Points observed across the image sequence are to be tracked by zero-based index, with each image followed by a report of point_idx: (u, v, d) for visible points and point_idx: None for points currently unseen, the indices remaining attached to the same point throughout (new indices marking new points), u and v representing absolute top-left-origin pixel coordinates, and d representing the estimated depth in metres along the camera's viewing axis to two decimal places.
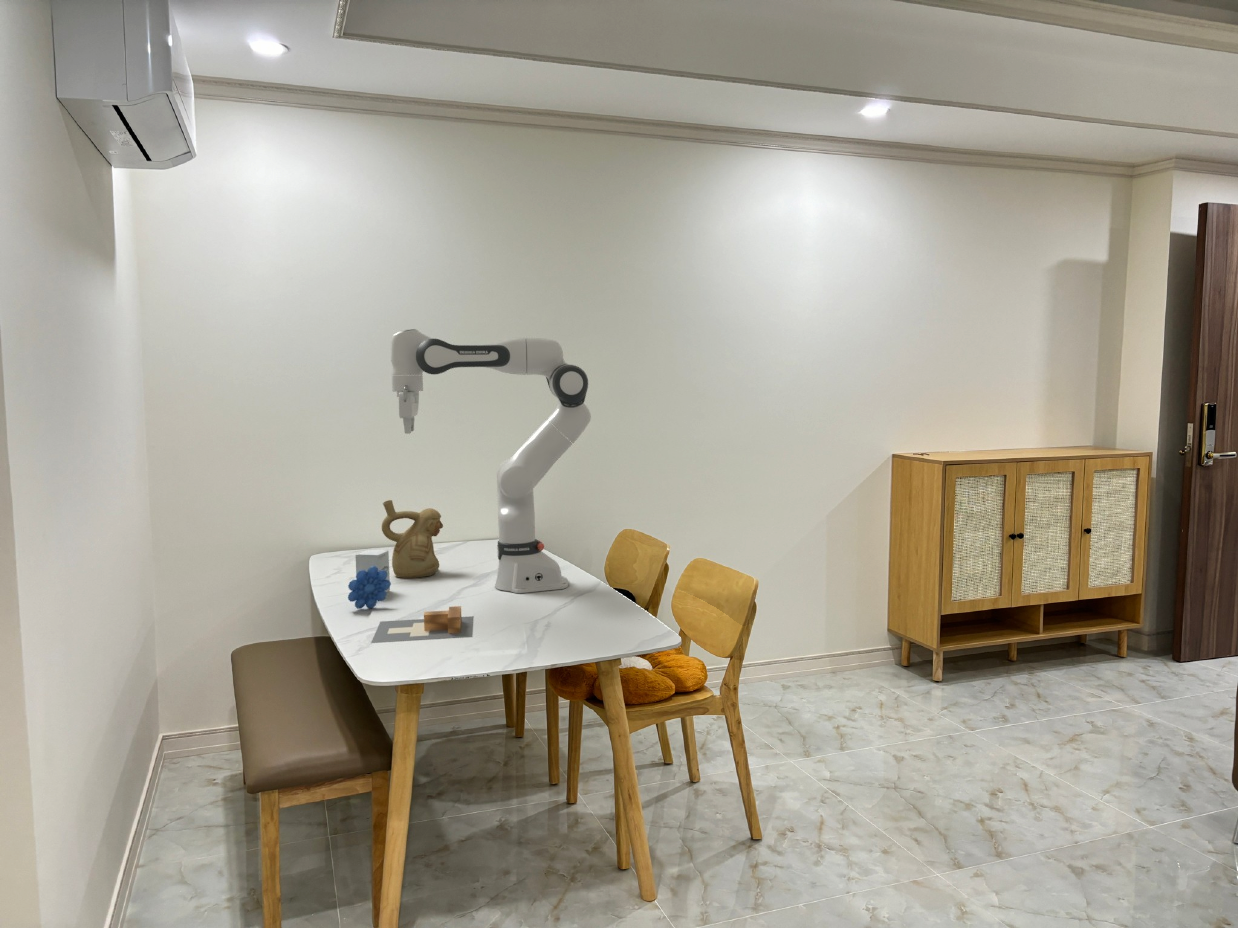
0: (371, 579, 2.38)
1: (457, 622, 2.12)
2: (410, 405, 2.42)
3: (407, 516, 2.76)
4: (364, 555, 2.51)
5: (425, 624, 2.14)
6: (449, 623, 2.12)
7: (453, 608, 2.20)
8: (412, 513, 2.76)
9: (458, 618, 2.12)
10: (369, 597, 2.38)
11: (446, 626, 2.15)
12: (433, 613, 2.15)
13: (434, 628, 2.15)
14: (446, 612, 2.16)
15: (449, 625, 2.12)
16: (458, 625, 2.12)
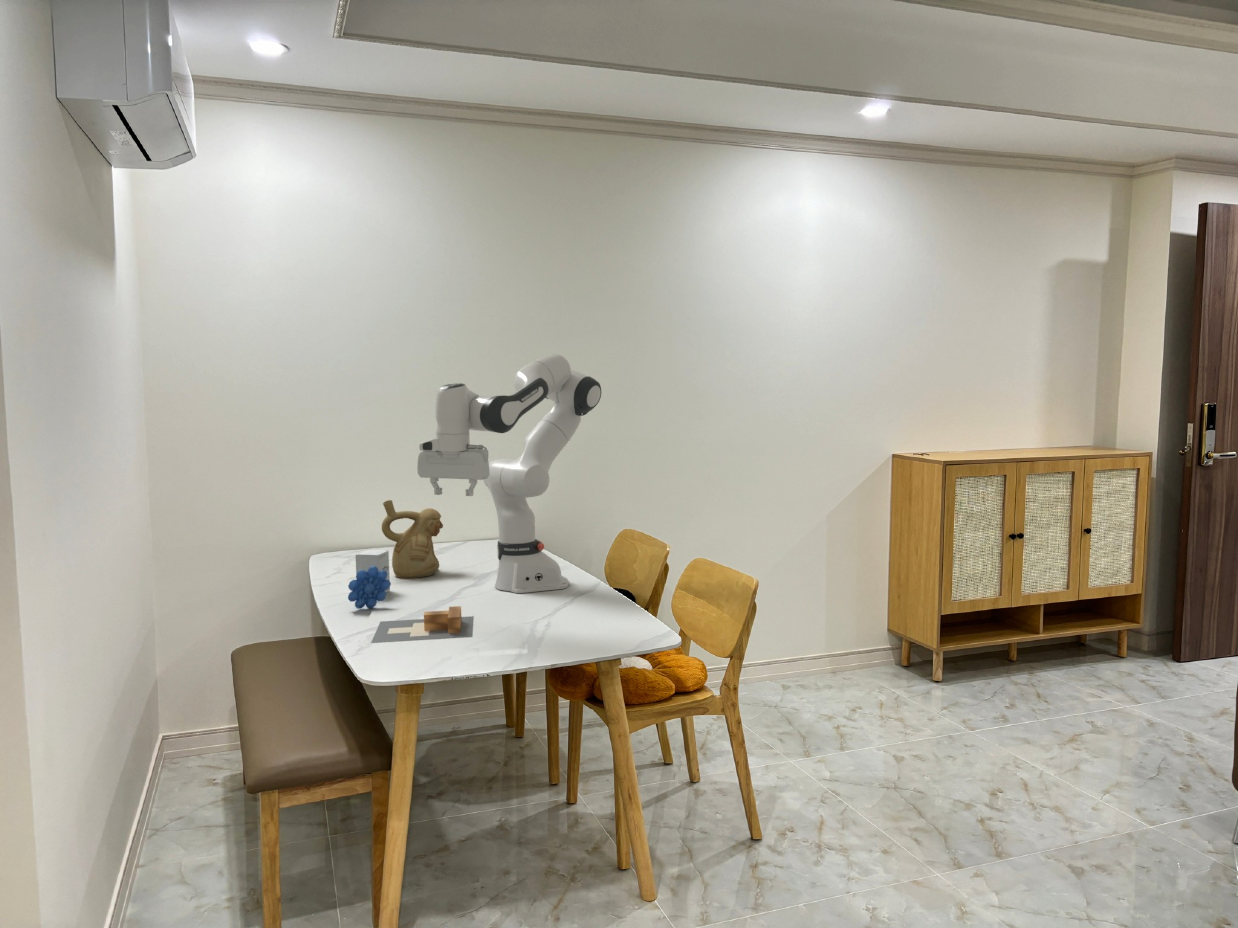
0: (371, 579, 2.38)
1: (457, 622, 2.12)
2: (488, 465, 2.29)
3: (407, 516, 2.76)
4: (364, 555, 2.51)
5: (425, 624, 2.14)
6: (449, 623, 2.12)
7: (453, 608, 2.20)
8: (412, 513, 2.76)
9: (458, 618, 2.12)
10: (369, 597, 2.38)
11: (446, 626, 2.15)
12: (433, 613, 2.15)
13: (434, 628, 2.15)
14: (446, 612, 2.16)
15: (449, 625, 2.12)
16: (458, 625, 2.12)
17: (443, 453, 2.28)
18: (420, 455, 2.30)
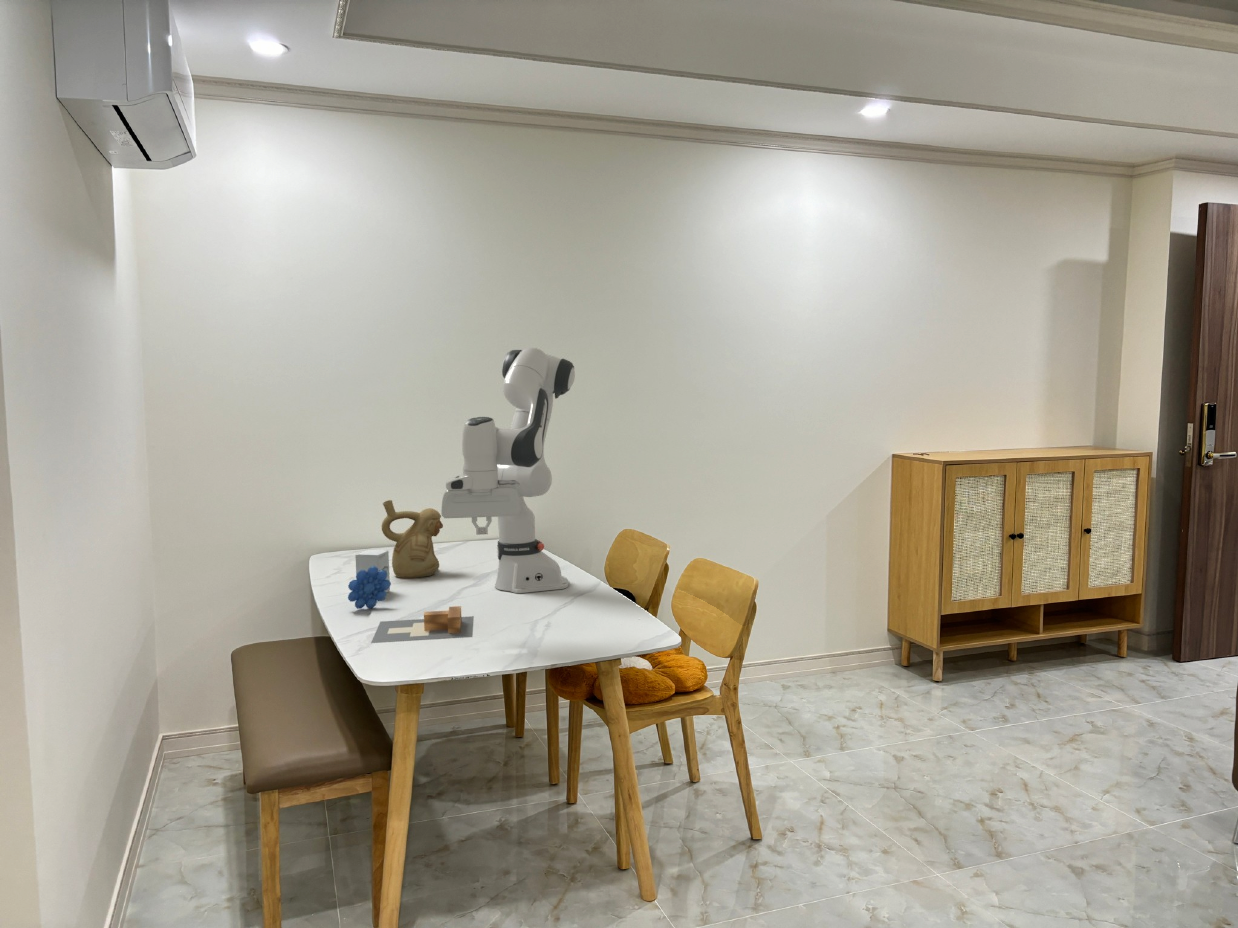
0: (371, 579, 2.38)
1: (457, 622, 2.12)
2: None
3: (407, 516, 2.76)
4: (364, 555, 2.51)
5: (425, 624, 2.14)
6: (449, 623, 2.12)
7: (453, 608, 2.20)
8: (412, 513, 2.76)
9: (458, 618, 2.12)
10: (369, 597, 2.38)
11: (446, 626, 2.15)
12: (433, 613, 2.15)
13: (434, 628, 2.15)
14: (446, 612, 2.16)
15: (449, 625, 2.12)
16: (458, 625, 2.12)
17: (475, 491, 2.16)
18: (446, 495, 2.15)
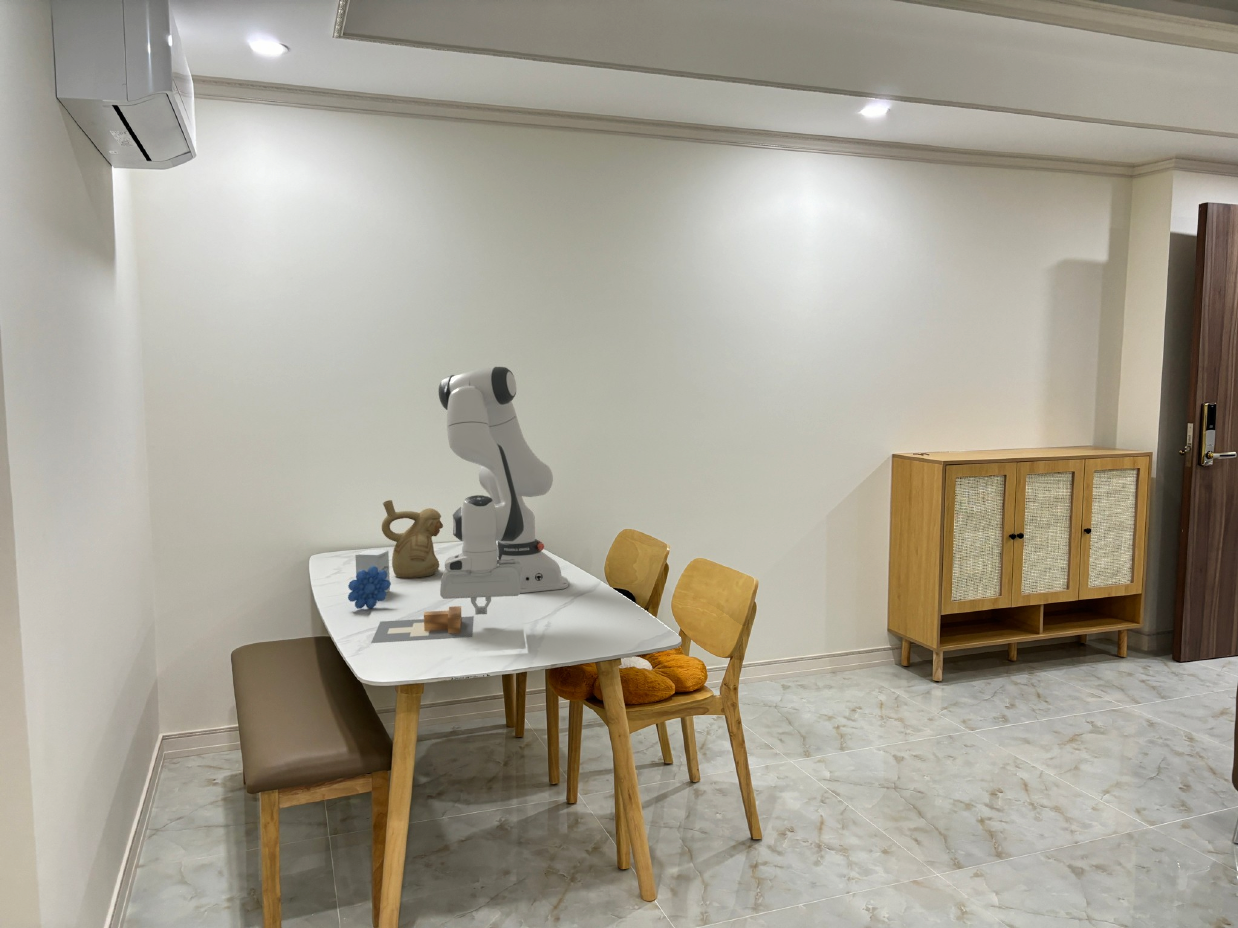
0: (371, 579, 2.38)
1: (457, 622, 2.12)
2: None
3: (407, 516, 2.76)
4: (364, 555, 2.51)
5: (425, 624, 2.14)
6: (449, 623, 2.12)
7: (453, 608, 2.20)
8: (412, 513, 2.76)
9: (458, 618, 2.12)
10: (369, 597, 2.38)
11: (446, 626, 2.15)
12: (433, 613, 2.15)
13: (434, 628, 2.15)
14: (446, 612, 2.16)
15: (449, 625, 2.12)
16: (458, 625, 2.12)
17: (474, 572, 2.13)
18: (445, 575, 2.13)
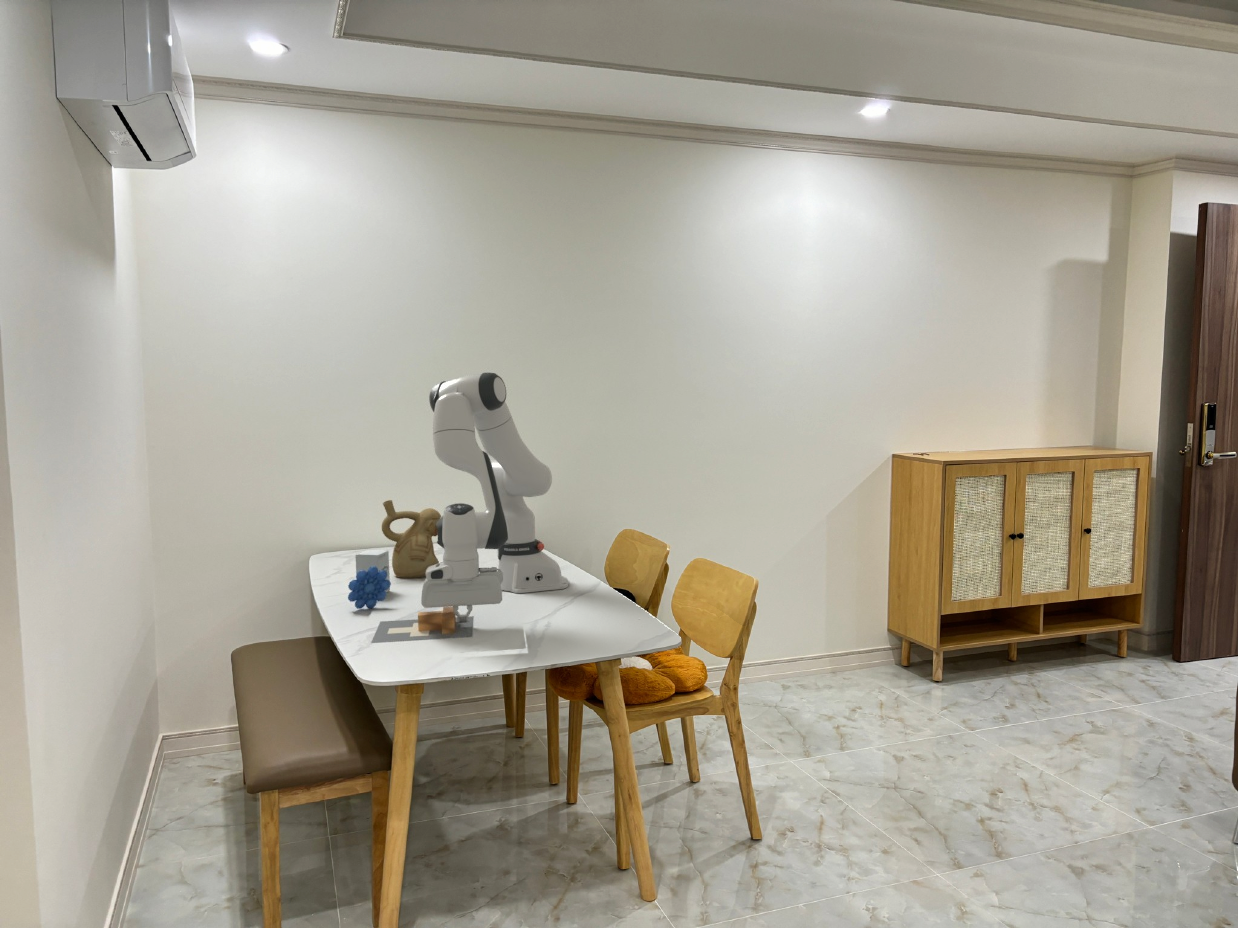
0: (371, 579, 2.38)
1: (451, 622, 2.12)
2: None
3: (407, 516, 2.76)
4: (364, 555, 2.51)
5: (419, 624, 2.14)
6: (443, 623, 2.11)
7: (447, 608, 2.19)
8: (412, 513, 2.76)
9: (452, 618, 2.12)
10: (369, 597, 2.38)
11: (440, 626, 2.15)
12: (427, 613, 2.15)
13: (428, 628, 2.14)
14: (440, 612, 2.16)
15: (443, 625, 2.11)
16: (452, 625, 2.12)
17: (455, 580, 2.13)
18: (426, 584, 2.12)
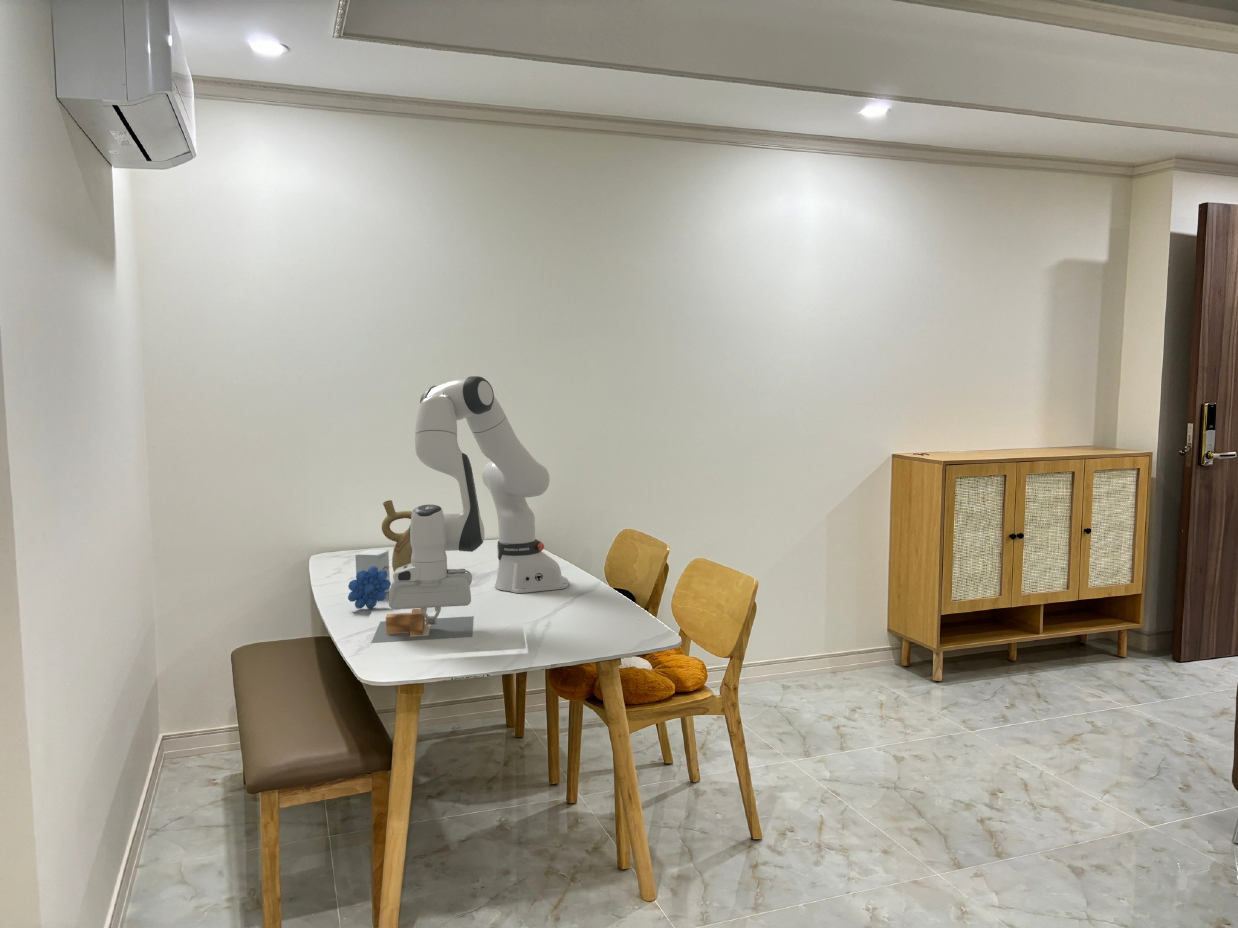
0: (371, 579, 2.38)
1: (419, 624, 2.10)
2: None
3: (407, 516, 2.76)
4: (364, 555, 2.51)
5: (387, 626, 2.13)
6: (411, 625, 2.10)
7: (416, 610, 2.18)
8: None
9: (420, 620, 2.10)
10: (369, 597, 2.38)
11: (408, 628, 2.14)
12: (395, 615, 2.14)
13: (396, 630, 2.13)
14: (408, 614, 2.15)
15: (411, 627, 2.10)
16: (420, 627, 2.11)
17: (423, 582, 2.12)
18: (394, 586, 2.11)
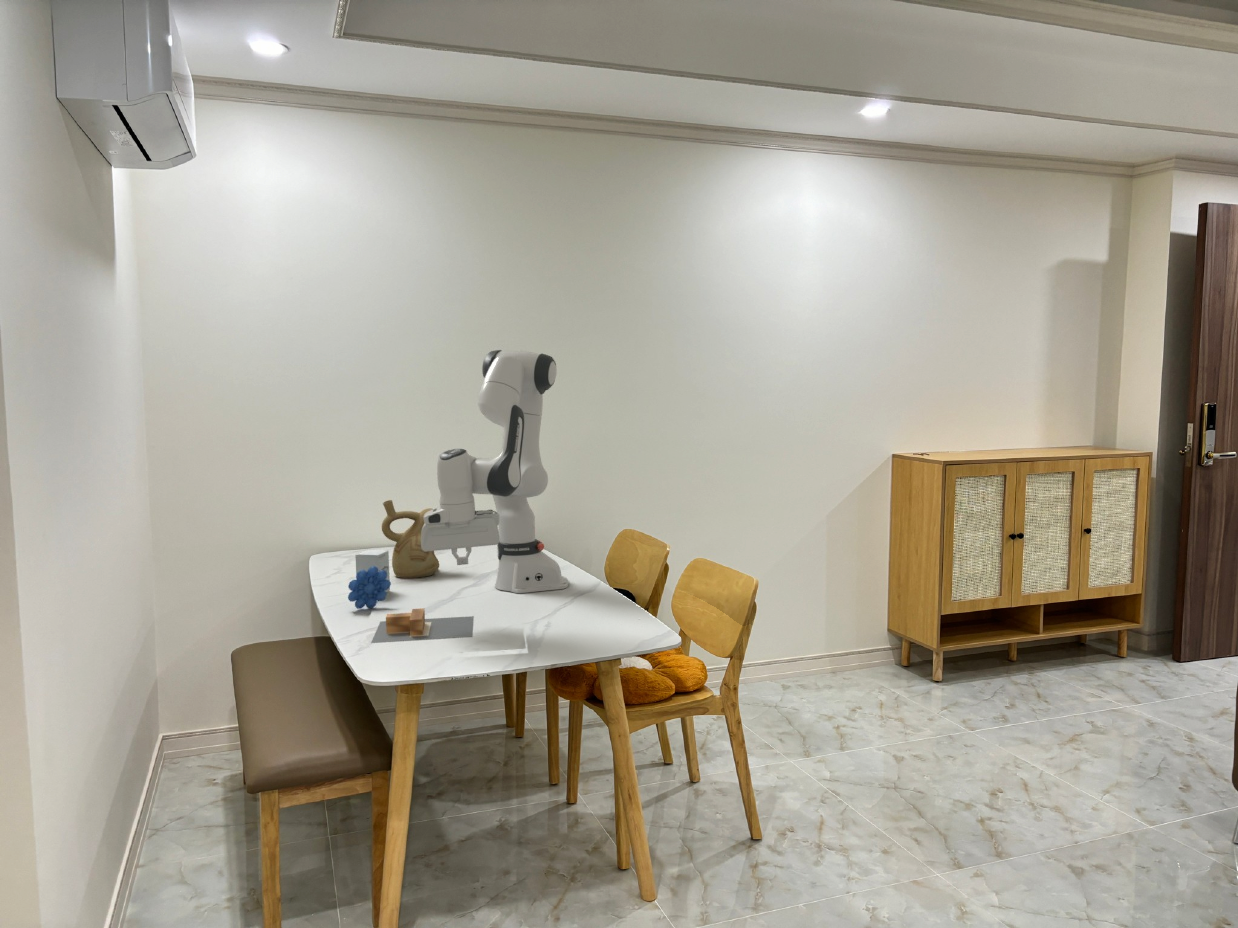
0: (371, 579, 2.38)
1: (419, 624, 2.10)
2: None
3: (407, 516, 2.76)
4: (364, 555, 2.51)
5: (387, 626, 2.13)
6: (411, 625, 2.10)
7: (416, 610, 2.18)
8: (412, 513, 2.76)
9: (420, 620, 2.10)
10: (369, 597, 2.38)
11: (408, 628, 2.14)
12: (395, 615, 2.14)
13: (396, 630, 2.13)
14: (408, 614, 2.15)
15: (411, 627, 2.10)
16: (420, 627, 2.11)
17: (453, 523, 2.19)
18: (425, 529, 2.18)
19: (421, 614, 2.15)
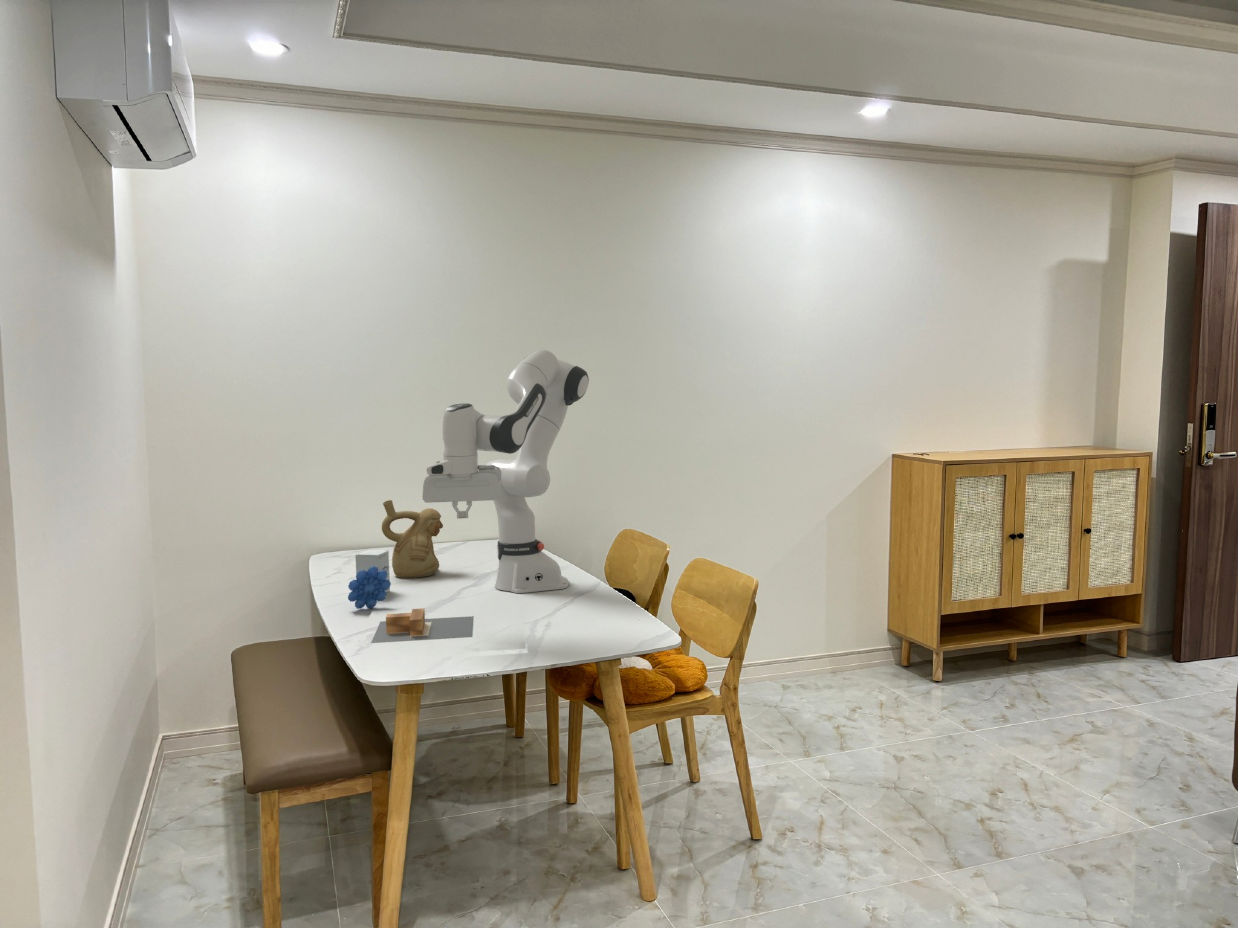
0: (371, 579, 2.38)
1: (419, 624, 2.10)
2: None
3: (407, 516, 2.76)
4: (364, 555, 2.51)
5: (387, 626, 2.13)
6: (411, 625, 2.10)
7: (416, 610, 2.18)
8: (412, 513, 2.76)
9: (420, 620, 2.10)
10: (369, 597, 2.38)
11: (408, 628, 2.14)
12: (395, 615, 2.14)
13: (396, 630, 2.13)
14: (408, 614, 2.15)
15: (411, 627, 2.10)
16: (420, 627, 2.11)
17: (455, 476, 2.21)
18: (427, 479, 2.21)
19: (421, 614, 2.15)
